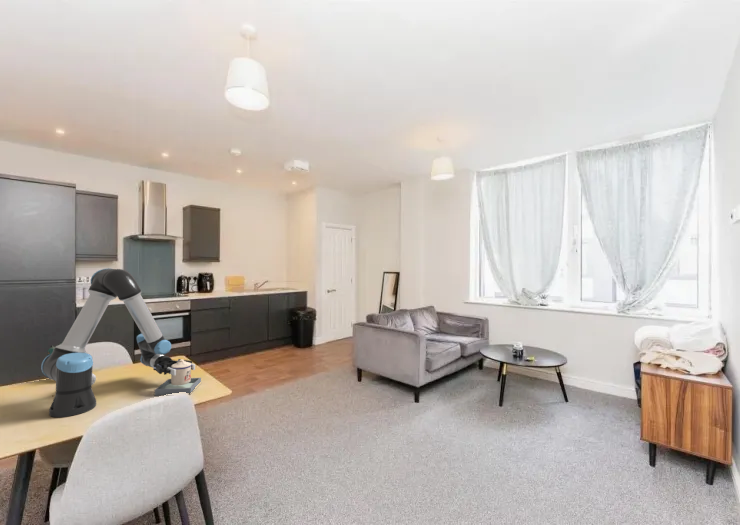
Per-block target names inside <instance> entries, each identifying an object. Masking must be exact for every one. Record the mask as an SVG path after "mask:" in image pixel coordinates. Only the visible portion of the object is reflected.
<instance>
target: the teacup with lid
mask: <svg viewBox="0 0 740 525" xmlns="http://www.w3.org/2000/svg"><path fill="white" fill-rule="evenodd" d="M180 359H181V360H179V362H177V363H175V364H173V365H172V366H171V368H173V369H176V375H171V374H170V377H171V378H170V379H171V384H172V385H184V384H187V383H189V382H190V381H191V378H192V370H191V363H189V362H186V361H184V360H185V359H182V358H180Z"/></svg>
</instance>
